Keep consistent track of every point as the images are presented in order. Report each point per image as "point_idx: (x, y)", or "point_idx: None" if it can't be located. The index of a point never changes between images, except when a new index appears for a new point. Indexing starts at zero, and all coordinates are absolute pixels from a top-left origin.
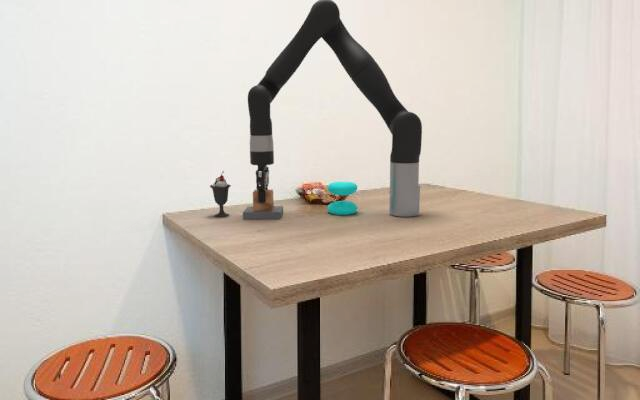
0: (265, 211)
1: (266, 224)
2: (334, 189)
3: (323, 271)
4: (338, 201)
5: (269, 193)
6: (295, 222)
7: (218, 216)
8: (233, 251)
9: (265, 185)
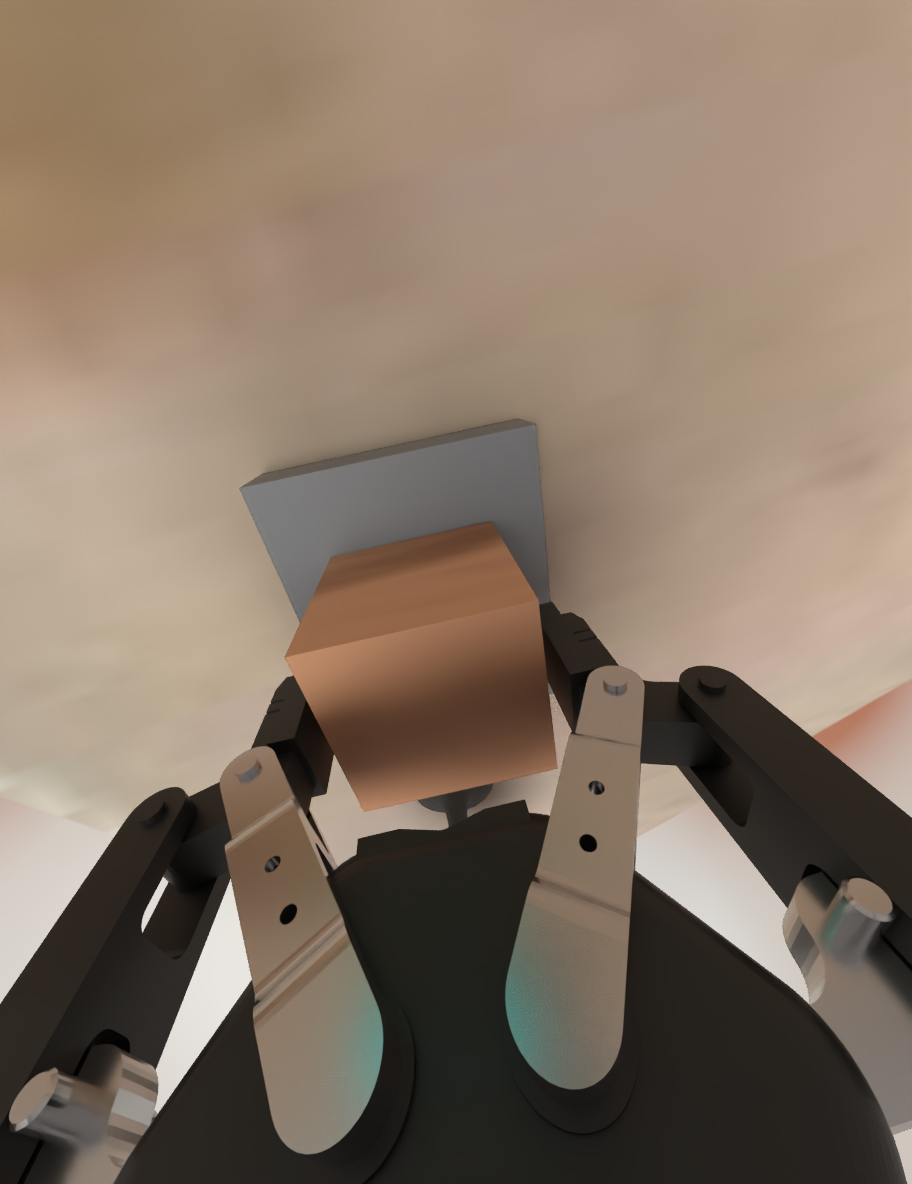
0: (517, 564)
1: (682, 478)
2: None
3: None
4: None
5: (535, 615)
6: (636, 229)
7: (491, 785)
8: None
9: (595, 726)
